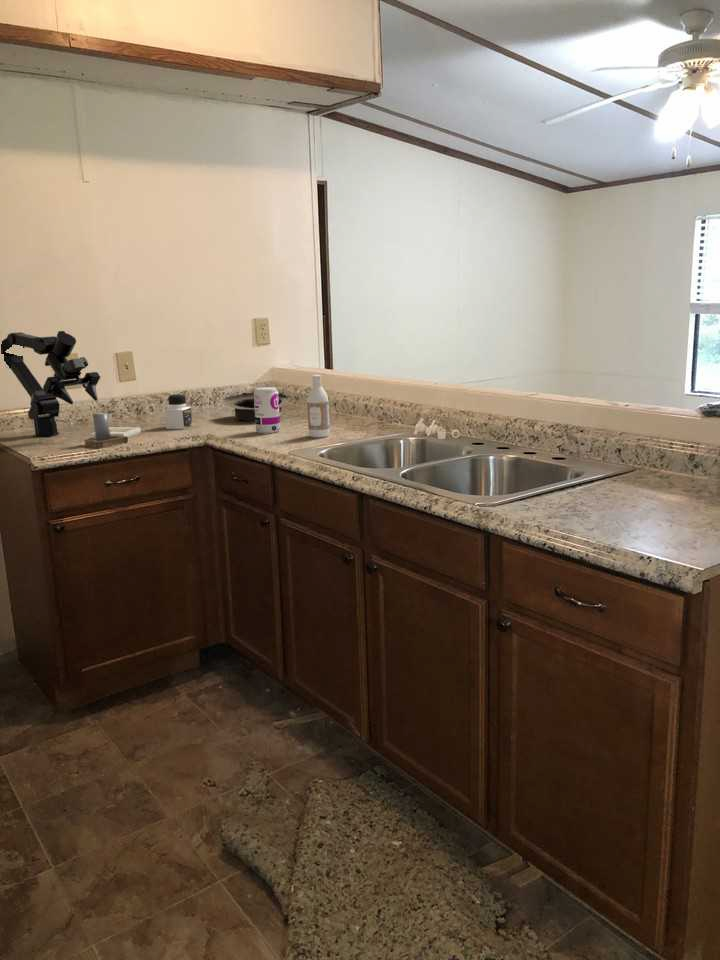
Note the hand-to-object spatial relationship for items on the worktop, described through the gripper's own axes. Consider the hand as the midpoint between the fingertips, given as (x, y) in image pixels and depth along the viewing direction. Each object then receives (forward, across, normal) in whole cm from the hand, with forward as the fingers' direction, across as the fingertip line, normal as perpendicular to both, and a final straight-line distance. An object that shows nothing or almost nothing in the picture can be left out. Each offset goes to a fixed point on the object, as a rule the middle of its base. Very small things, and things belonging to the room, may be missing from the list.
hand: (84, 401), depth 256 cm
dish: (+9, +11, +10) cm, 18 cm away
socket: (+16, 0, +3) cm, 17 cm away
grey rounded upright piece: (+15, 0, +4) cm, 16 cm away
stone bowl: (+22, +63, -3) cm, 67 cm away
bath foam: (+53, +45, -34) cm, 78 cm away
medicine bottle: (+13, +34, +6) cm, 37 cm away
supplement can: (+38, +43, -19) cm, 61 cm away
